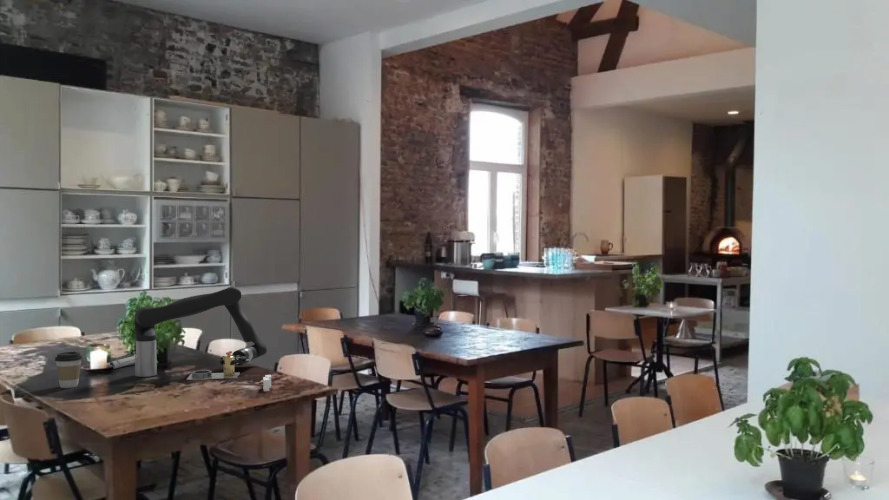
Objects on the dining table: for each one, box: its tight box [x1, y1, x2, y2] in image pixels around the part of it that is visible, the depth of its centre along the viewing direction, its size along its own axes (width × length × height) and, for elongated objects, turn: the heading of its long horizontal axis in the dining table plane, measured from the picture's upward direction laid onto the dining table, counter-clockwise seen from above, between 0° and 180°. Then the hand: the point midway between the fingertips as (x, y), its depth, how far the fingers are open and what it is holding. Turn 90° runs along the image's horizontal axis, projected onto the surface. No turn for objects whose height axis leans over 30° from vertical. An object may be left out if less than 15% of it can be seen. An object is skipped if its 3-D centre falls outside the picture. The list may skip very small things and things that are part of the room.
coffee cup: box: [54, 351, 83, 389], centre depth 329 cm, size 11×11×15 cm
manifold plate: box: [186, 369, 241, 380], centre depth 347 cm, size 23×13×4 cm, turn 100°
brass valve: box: [223, 350, 236, 376], centre depth 348 cm, size 5×5×11 cm
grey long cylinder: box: [109, 355, 135, 370], centre depth 379 cm, size 5×7×25 cm
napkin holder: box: [262, 374, 272, 392], centre depth 329 cm, size 15×11×6 cm
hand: (226, 362), depth 346 cm, fingers closed on brass valve, 5 cm apart
